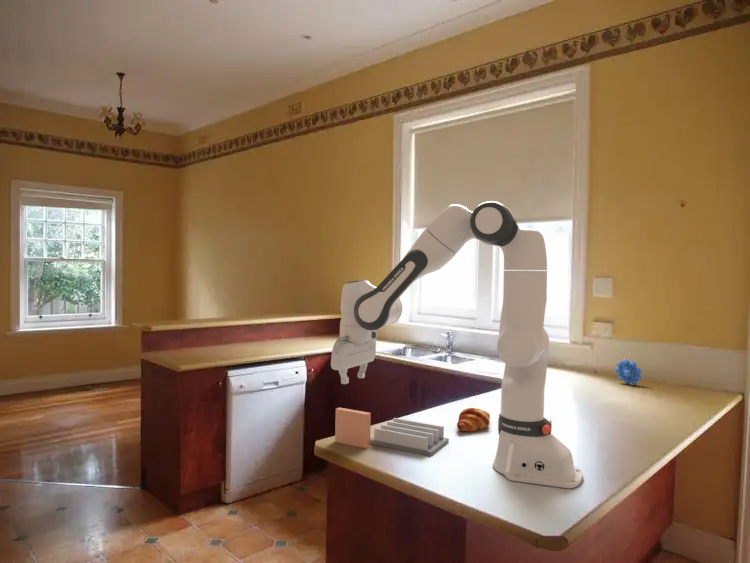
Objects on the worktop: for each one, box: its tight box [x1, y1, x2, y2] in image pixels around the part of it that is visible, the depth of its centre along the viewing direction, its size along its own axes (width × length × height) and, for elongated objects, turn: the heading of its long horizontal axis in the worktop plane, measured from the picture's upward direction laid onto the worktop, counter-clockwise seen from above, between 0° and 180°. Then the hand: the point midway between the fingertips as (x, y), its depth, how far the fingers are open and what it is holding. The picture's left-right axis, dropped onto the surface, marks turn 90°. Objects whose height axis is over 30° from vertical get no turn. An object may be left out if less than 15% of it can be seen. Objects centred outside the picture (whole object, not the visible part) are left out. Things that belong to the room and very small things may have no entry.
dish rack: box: [370, 417, 449, 457], centre depth 159 cm, size 20×14×5 cm
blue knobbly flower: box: [614, 358, 642, 386], centre depth 248 cm, size 12×7×12 cm, turn 54°
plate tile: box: [334, 407, 372, 449], centre depth 156 cm, size 11×2×10 cm, turn 61°
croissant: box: [456, 407, 491, 433], centre depth 177 cm, size 21×10×8 cm, turn 144°
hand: (353, 380), depth 156 cm, fingers open, 8 cm apart
